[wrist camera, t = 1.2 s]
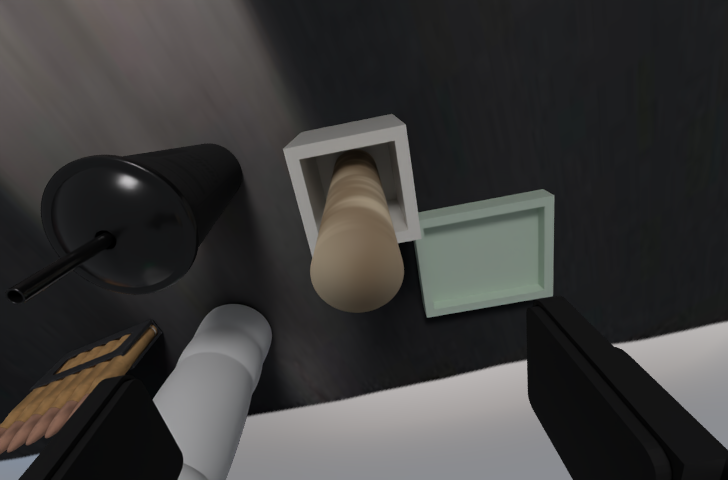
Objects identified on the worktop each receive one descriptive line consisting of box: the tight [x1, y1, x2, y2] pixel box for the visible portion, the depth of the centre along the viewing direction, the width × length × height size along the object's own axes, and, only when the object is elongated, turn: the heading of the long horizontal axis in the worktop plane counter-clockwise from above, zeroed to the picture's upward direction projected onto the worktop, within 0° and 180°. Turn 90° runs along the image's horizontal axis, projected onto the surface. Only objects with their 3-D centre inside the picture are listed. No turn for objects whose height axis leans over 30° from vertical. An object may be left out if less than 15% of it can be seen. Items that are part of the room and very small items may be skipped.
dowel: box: [310, 149, 404, 313], centre depth 22 cm, size 4×4×18 cm
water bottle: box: [153, 304, 272, 480], centre depth 26 cm, size 7×7×25 cm
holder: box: [283, 114, 422, 258], centre depth 28 cm, size 8×8×8 cm
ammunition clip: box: [0, 319, 162, 454], centre depth 33 cm, size 11×2×12 cm, turn 113°
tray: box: [414, 189, 554, 318], centre depth 34 cm, size 12×10×2 cm
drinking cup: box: [5, 144, 242, 305], centre depth 22 cm, size 8×8×20 cm
